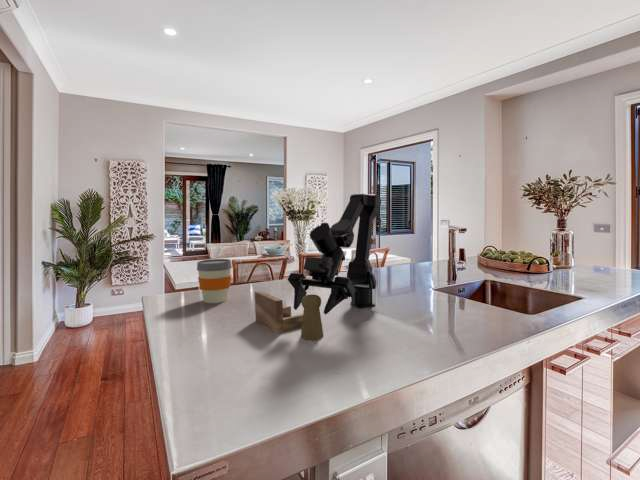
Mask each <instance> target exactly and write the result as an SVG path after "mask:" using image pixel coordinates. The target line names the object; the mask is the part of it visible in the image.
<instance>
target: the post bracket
mask: <svg viewBox="0 0 640 480" xmlns="http://www.w3.org/2000/svg"><path fill="white" fill-rule="evenodd" d="M254 303H255V304H254V306H255V307H254V308H255V309H254V310H255V321H256V322H257V323H259V324H261V325H262V326H263V327H265V328H267V329H269V330H270V331H271V332H273V333H274V334H281V333H284V331H287V330H290V329H295V328H298V327H302V321H303V313H301V314H296V315H293V316H292V306H291V305H287V306H284V304H283V299H281V298H279V297H277V296H275V295H271V294H269V293H268V292H265V291H262V290H258V291H257V290H256V291H254Z"/></svg>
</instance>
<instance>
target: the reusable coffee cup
mask: <svg viewBox="0 0 640 480" xmlns="http://www.w3.org/2000/svg"><path fill="white" fill-rule="evenodd" d="M231 269H232V261H231V259H230V258H229V259H227V258H212V259H204V260H199V261H197V263H196V270H197V272H198V277H197V278H198V284H199V289H200V290H201V293H202V298H203V303H205V304H220V303H221V304H222V303H225V302H226V301H229V292H230V288H231V283H232V274H231V272H232V271H231Z"/></svg>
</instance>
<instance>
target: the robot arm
mask: <svg viewBox="0 0 640 480" xmlns="http://www.w3.org/2000/svg"><path fill="white" fill-rule="evenodd" d="M381 205H382V199H381V197H380V196H378V194H376V193H375V194H373V193H372V194H371V193H369V194H366V193H365V194H364V193H353V194H350V196H349V202H348V204H347V205H346V207H345V210H344V211H343V213H342V215H341V216H340V218H339V221H337V222H335V223H334V224H332V225H331V226H330V225H329V223H328V222H321V223H320V225H319V226H316V227H314V228H313V229H312V230H311V231H310V233H309V238H310V239H311V241H312V243H313V245H314V246H315V248H316V249H317V251H318V252H319V253H320V254H321V257H313V256H312V257H310V256H308V257H307V256H306V257H305V261H304V265H303V270H306V271H308V275H309V276H310V277H311V278H307V277H306V275H305V274H304V273H302V272H291V273H289V274H288V275H289V276H288V277H287V281H288V283H289V284H290V285H291V287H293V290H294V296H293V298H294V299H293V309H294V310H295V311H297V310H298V308H299V307H300V306H301V305H302V298H303V297H304V296H306V295H308V294H307V293H308V292H307V290H309V287H314V288H315V287H316V288H324V289H329V290H330V293H329V297H328V299H327V301H326V303H325V306H324V309H323V314H324V315H327V314H328V313H330V312H331V311H332V310H333V309H334V308H335V307H336V306H337V305H339V304H340V303H342V302H343V301H345V300H348V299H349V298H350V299H351V301H350V305H352V306H354V307H356V308H358V309H359V308H360V309H361V308H366V307H367V308H368V307H373V306H376V303H374V302H373V290H376V289H377V279H376V277H375V275H374V273H373V266H372V264H371V262H370V252H371V251H370V250H371V243H372V234H373V226H374V225H373V223H374V219H375V218H376V217H377V216H378V214H379V212H380V207H381ZM358 219H359V222H358V229H357V236H356V237H357V238H356V246H355V254H354V258H353V259H352V261H349V263H348V268H347V269H348V270H347V272H346V276H339V273H340V271H338V269H339V267H340V264H341V262H342V261H345V260H346V257H345V253H344V250H343V249H342V248H344V249H345V248H346V249H347V248H350V247H351V246H352V244H353V243H354V237H355V233H354V228H355V226H356V224H357V221H358Z"/></svg>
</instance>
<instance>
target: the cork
mask: <svg viewBox="0 0 640 480" xmlns="http://www.w3.org/2000/svg"><path fill="white" fill-rule="evenodd" d="M321 304H322V298H321V297H320V295H318V294H306V296H304V297H303V298H302V302H301V306H302V308H303V313H302V314H303V321H302V326H301V331H300V337H301V339H303V340H306V341H317V340H318V341H319V340H321V339H323V338H324V331H323V330H324V329H323V323H322V322H323V321H322V317H321V316H322V315H321V310H320V307H321V306H322V305H321Z"/></svg>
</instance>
